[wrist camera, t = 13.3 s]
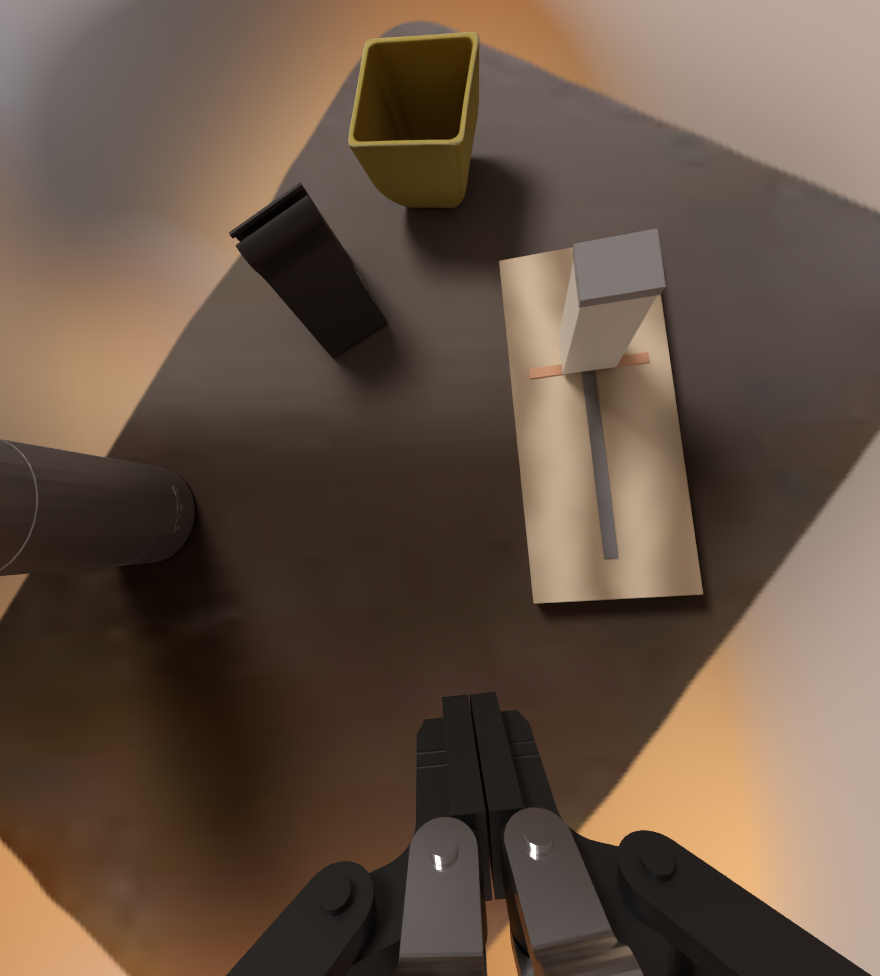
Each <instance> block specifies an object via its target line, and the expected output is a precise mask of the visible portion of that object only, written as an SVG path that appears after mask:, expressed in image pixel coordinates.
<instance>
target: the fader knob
mask: <svg viewBox="0 0 880 976" xmlns="http://www.w3.org/2000/svg"><path fill="white" fill-rule="evenodd" d="M572 255H573V264H572V270H571V275H570V280H569V285H568V291H567V296H566V301H565V307H564V312H563V317H562V323H561V328H560V333H559V345H560V354H561V363H562V372H563V374H569V373H577V372H584V371H591V370H598V369H606V368H613V367H617V365H618V363H619V361H620V360H621V358H622V356H623V354H624V353H625V351H626V349H627V348H628V346H629V344H630V342H631V341H632V339H633V337H634V335H635V334H636V332H637V330H638V328H639V327H640V325H641V323H642V321H643V320H644V318H645V316H646V314H647V313H648V311H649V309H650V307H651V306H652V304H653V302H654V301H655V299H656V297H657V295H661V294H662V292H663V290H664V289H665V287H666V285H665V278H664V271H663V265H662V258H661V251H660V244H659V237H658V230H657V229H652V230H647V231H641V232H636V233H630V234H625V235H620V236H614V237H609V238H603V239H598V240H593V241H587V242H582V243H576V244H574V246H573V252H572Z"/></svg>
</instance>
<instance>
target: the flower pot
mask: <svg viewBox="0 0 880 976" xmlns="http://www.w3.org/2000/svg"><path fill="white" fill-rule="evenodd" d="M478 106H479V35H478V33H476V32H462V33H448V34H437V35H422V36H407V37H391V38H377V39H370V40H367V42H366V45H365V47H364V51H363V56H362V62H361V67H360V74H359V79H358V85H357V91H356V97H355V103H354V108H353V114H352V119H351V124H350V130H349V141H348V143H349V146H350V148H351V149H352V151H353V153H354V154H355V156H356V157H357V159H358V161H359V162H360V164H361V165H362V167H363V169H364V170H365V172H366V173H367V175H368V176H369V178H370V180H371V181H372V183H373V184H374V185H375V187H376V188H377V189H378V190H379V191H380V192H381V193H382V194H383V195H384V196H385V197H387V198H388V199H390V200H392V201H394V202H395V203H398V204H400V205H403V206H406V207H436V208H454V207H457V206H458V205H459V204H460V203H461V202H462V200H463V198H464V196H465V192H466V188H467V180H468V173H469V166H470V159H471V153H472V146H473V140H474V134H475V128H476V122H477V116H478Z"/></svg>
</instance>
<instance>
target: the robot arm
mask: <svg viewBox="0 0 880 976" xmlns="http://www.w3.org/2000/svg"><path fill="white" fill-rule="evenodd" d="M194 515H195V508H194V500H193V497H192V494H191V491H190V489H189V487H188V485H187V484H186V482H185V481H184V480H183V479H182V478H181V477H180V476H179V475H178V474H176V473H175V472H173V471H171V470H168V469H166V468H162V467H156V466H150V465H144V464H139V463H133V462H128V461H123V460H117V459H111V458H106V457H99V456H94V455H89V454H83V453H77V452H71V451H66V450H60V449H54V448H49V447H43V446H37V445H31V444H25V443H20V442H14V441H9V440H3V439H0V576H5V575H17V574H29V573H40V572H52V571H63V570H75V569H86V568H98V567H109V566H122V565H133V564H144V563H155V562H159V561H163V560H166V559H167V558H169V557H171V556H173V555H174V554H175V553H176V552H177V551H178V550H180V549H181V547H182V546H183V545H184V543H185V542H186V541H187V539H188V537H189V535H190V533H191V530H192V527H193V523H194ZM442 702H443V717H444V718H435V719H426V720H424V722H423V724H422V726H421V728H420V730H419V732H418V734H417V777H416V829H415V833H414V836H413V838H412V841H411V843H410V844H409V846H408V847H407V849H406V850H405V851H404V852H403V853H402V854H401V855H400V856H399V857H398V858H397V859H395V860H394V861H393V862H391V863H389V864H387V865H385V866H383V867H381V868H379V869H377V870H375V871H373V872H371V873H368V872H367V870H366V869H365V868H364V867H362V866H361V865H359V864H357V863H354V862H349V861H343V862H337V863H334V864H331V865H329V866H327V867H325V868H324V869H322V870H321V871H320V872H318V873H317V874H316V875H315V876H314V877H313V878H312V879H311V880H310V881H309V883H308V884H307V885H306V886H305V887H304V888H303V889H302V891H301V892H300V893H299V894H298V895H297V896H296V897H295V898H294V900H293V901H292V902H291V903H290V904H289V905H288V906H287V907H286V909H285V910H284V911H283V912H282V913H281V914H280V915H279V916H278V918H277V919H276V920H275V921H274V922H273V923H272V924H271V926H270V927H269V928H268V929H267V930H266V931H265V932H264V933H263V935H262V936H261V937H260V938H259V939H258V940H257V941H256V942H255V944H254V945H253V946H252V947H251V948H250V949H249V950H248V951H247V953H246V954H245V955H244V956H243V957H242V958H241V959H240V961H239V962H238V963H237V964H236V965H235V966H234V967H233V968H232V970H231V971H230V972H229V973H228V974H227V975H226V976H487V962H486V942H487V934H488V932H487V917H486V905H485V901H489V900H492V890H491V876H490V866H491V873H492V880H493V887H494V894H495V900H496V899H505V898H506V903H507V910H508V916H509V922H510V937H511V945H512V950H513V954H514V959H515V963H516V968H517V972H518V976H871V975H870V974H868V973H867V972H865V971H864V970H863V969H861V968H859V967H858V966H857V965H855V964H854V963H852V962H851V961H849V960H848V959H846V958H845V957H843V956H842V955H841V954H839V953H838V952H836V951H835V950H833V949H832V948H830V947H829V946H827V945H826V944H824V943H823V942H821V941H820V940H818V939H817V938H816V937H814V936H813V935H811V934H810V933H808V932H807V931H805V930H804V929H802V928H801V927H799V926H798V925H797V924H795V923H793V922H792V921H791V920H789V919H788V918H786V917H785V916H783V915H782V914H780V913H779V912H777V911H776V910H774V909H773V908H772V907H770V906H769V905H767V904H766V903H764V902H763V901H761V900H760V899H758V898H757V897H755V896H754V895H752V894H751V893H749V892H748V891H747V890H745V889H744V888H742V887H741V886H739V885H738V884H736V883H735V882H733V881H732V880H730V879H729V878H728V877H726V876H725V875H723V874H722V873H720V872H719V871H717V870H716V869H714V868H713V867H711V866H710V865H708V864H707V863H706V862H704V861H703V860H701V859H700V858H698V857H697V856H695V855H694V854H692V853H691V852H689V851H688V850H686V849H685V848H684V847H682V846H680V845H679V844H678V843H676V842H675V841H673V840H672V839H670V838H668V837H667V836H664V835H662V834H660V833H656V832H653V831H645V830H640V831H635V832H632V833H630V834H628V835H627V836H625V837H624V839H623V840H622V841H621V843H620V845H619V846H614V845H610V844H605V843H601V842H597V841H593V840H590V839H587V838H585V837H583V836H581V835H579V834H578V833H576V832H575V831H574V830H572V829H571V828H570V827H569V826H568V825H567V824H566V823H565V822H564V820H563V819H562V818H561V816H560V814H559V813H558V810H557V808H556V805H555V801H554V798H553V795H552V792H551V789H550V786H549V783H548V780H547V777H546V774H545V770H544V767H543V764H542V761H541V758H540V756H539V752H538V749H537V746H536V743H535V740H534V736H533V733H532V730H531V727H530V724H529V722H528V721H527V720H526V719H525V718H524V717H523V716H522V715H521V714H520V713H519V711H518V710H512V711H503V712H500V708H499V703H498V699H497V695H496V692H489V693H479V694H470V706H469V700H468V695H460V696H450V697H442ZM470 708H471V713H470ZM489 860H490V863H489Z"/></svg>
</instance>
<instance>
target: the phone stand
mask: <svg viewBox="0 0 880 976" xmlns="http://www.w3.org/2000/svg"><path fill="white" fill-rule="evenodd" d="M229 234H230V236H231V237H232V238H234V237H236V238H237V239H238V240H239V241H240V243H238V244H237V245H236V247H237V249H238V250H239V252H240V253H241V254H242V256H243V257H244V258H245V260H246V261H247V262H248V263H249V264H250V266H251V267H252V268H253V269H254V270H255V271H256V272H258V273H259V274H260V275H261V276H262V277H263V278H264V279H265V280H266V281H267V282H268V283H269V285H270V286H271V287H272V288H273V289H274V290H275V292H276V293H277V294H278V295H279V296H280V297H281V299H282V300H283V301H284V302H285V303H286V304H287V306H288V307H289V308H290V309H291V310H292V311H293V313H294V314H295V315H296V316H297V317H298V318H299V320H300V321H301V322H302V323H303V324H304V325H305V327H306V328H307V329H308V330H309V331H310V332H311V334H312V335H313V336H314V337H315V338H316V339H317V341H318V342H319V343H320V344H321V345H322V346H323V348H324V349H325V350H326V351H327V352H328V353H329V354H330V356H331V357H332V358H334V357H335V356H337V355H339V354H340V353H342V352H343V351H345V350H346V349H348V348H349V347H351V346H352V345H354V344H356V343H357V342H359V341H360V340H362V339H363V338H365V337H366V336H368V335H369V334H371V333H373V332H374V331H376V330H377V329H379V328H380V327H382V326H383V325H385V324H386V323H387V321H386V320H385V318H384V316H383V314H382V313H381V311H380V309H379V308H378V306H377V304H376V302H375V301H374V299H373V297H372V296H371V294H370V292H369V291H368V289H367V287H366V285H365V284H364V282H363V280H362V279H361V277H360V275H359V273H358V272H357V270H356V268H355V267H354V265H353V263H352V261H351V260H350V258H349V256H348V255H347V253H346V251H345V250H344V248H343V246H342V245H341V243H340V242H339V240H338V239H337V237H336V236H335V234H334V233H333V231H332V230H331V228H330V227H329V225H328V224H327V222H326V221H325V219H324V218H323V216H322V215H321V213H320V212H319V210H318V209H317V207H316V206H315V204H314V203H313V201H312V200H311V198H310V196H309V195H308V193H307V192H306V190H305V188H304V187H303V185H302V184H301V182H300V183H299V184H297V185H296V186H294V187H293V188H291V189H290V190H289V191H287V192H286V193H284V194H283V195H282V196H280V197H279V198H277V199H276V200H274V201H273V202H272V203H270V204H269V205H267V206H266V207H264V208H263V209H262V210H260V211H259V212H257V213H256V214H255V215H253V216H252V217H250V218H249V219H247V220H246V221H245V222H243V223H242V224H240V225H239V226H238V227H236V228H235V229H233V230H232V231H231V232H229Z"/></svg>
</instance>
